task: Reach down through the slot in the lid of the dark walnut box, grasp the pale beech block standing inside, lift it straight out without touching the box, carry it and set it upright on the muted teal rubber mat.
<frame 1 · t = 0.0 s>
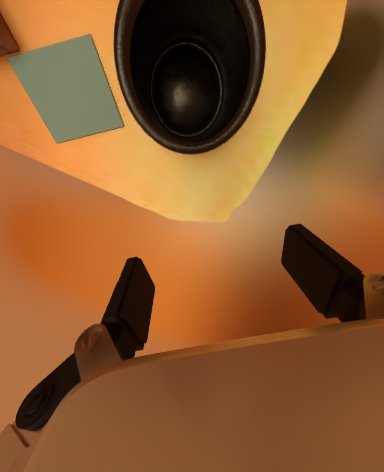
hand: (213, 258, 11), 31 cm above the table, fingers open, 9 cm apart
planter: (186, 96, 30), on the table
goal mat: (72, 96, 29), on the table
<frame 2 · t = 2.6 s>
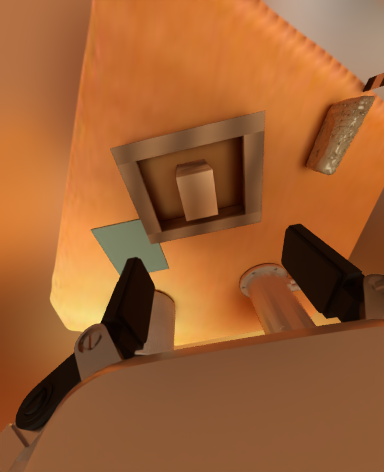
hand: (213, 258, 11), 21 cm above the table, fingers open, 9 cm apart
beech block: (193, 180, 29), resting in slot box
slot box: (193, 180, 28), on the table
planter: (148, 304, 47), on the table
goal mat: (133, 250, 36), on the table
cuneiform tablet: (328, 127, 26), on the table
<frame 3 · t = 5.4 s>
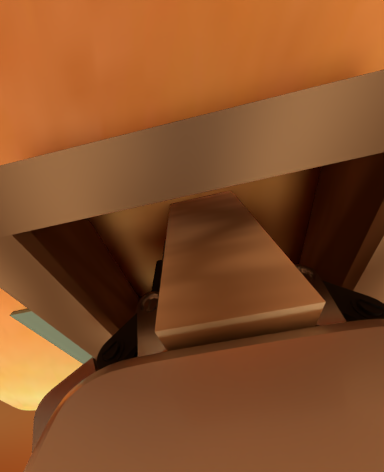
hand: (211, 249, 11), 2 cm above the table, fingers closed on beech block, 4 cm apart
beech block: (206, 231, 13), resting in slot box, touching gripper
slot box: (206, 231, 13), on the table
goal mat: (99, 333, 21), on the table
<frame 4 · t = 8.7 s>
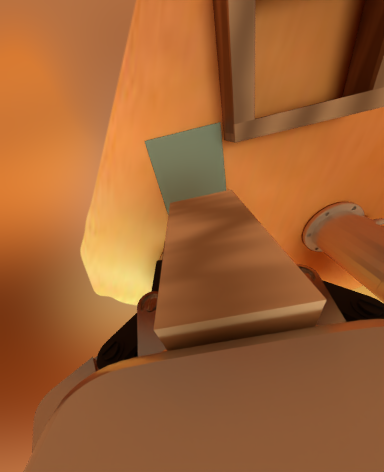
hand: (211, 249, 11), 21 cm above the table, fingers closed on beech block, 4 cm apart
beech block: (206, 230, 13), point 19 cm above the table, touching gripper
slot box: (289, 59, 22), on the table
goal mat: (191, 177, 29), on the table
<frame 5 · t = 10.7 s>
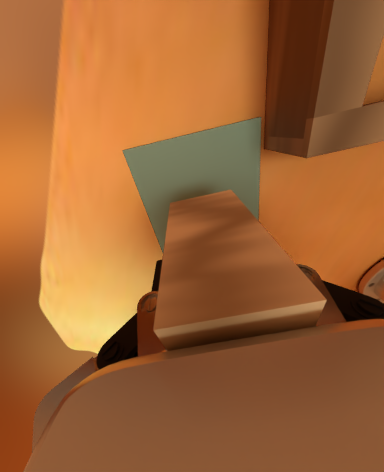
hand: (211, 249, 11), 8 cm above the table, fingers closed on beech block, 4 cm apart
beech block: (206, 230, 13), point 5 cm above the table, touching gripper
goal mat: (202, 207, 18), on the table
when the fingers open (4 cm above the table, at t = 12.2 s): beech block stays where it is, resting on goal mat.
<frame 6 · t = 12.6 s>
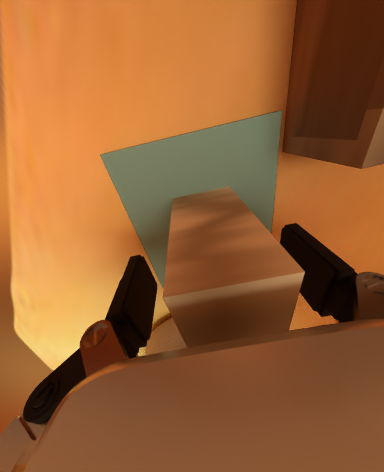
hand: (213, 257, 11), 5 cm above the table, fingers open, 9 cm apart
beech block: (206, 225, 14), resting on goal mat
planter: (199, 333, 26), on the table
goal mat: (204, 223, 15), on the table
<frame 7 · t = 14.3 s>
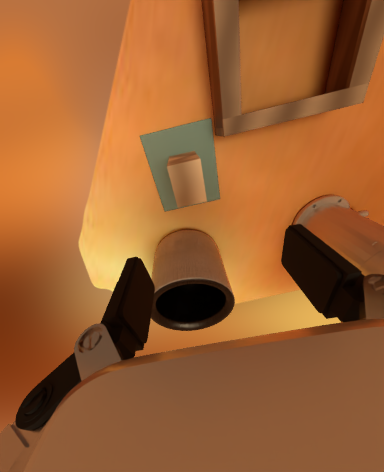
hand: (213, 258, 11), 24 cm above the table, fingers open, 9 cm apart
beech block: (185, 171, 30), resting on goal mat
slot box: (274, 58, 23), on the table
planter: (187, 253, 42), on the table
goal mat: (184, 170, 31), on the table
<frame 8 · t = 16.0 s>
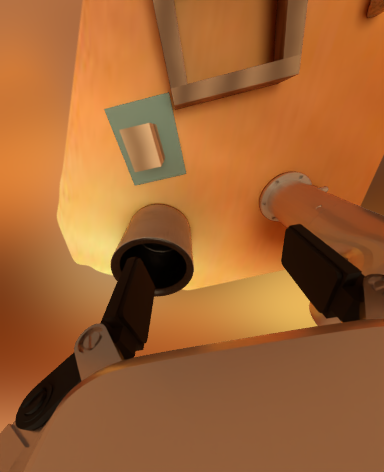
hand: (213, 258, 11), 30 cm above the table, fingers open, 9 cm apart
beech block: (150, 144, 33), resting on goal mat
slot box: (221, 35, 25), on the table
planter: (161, 229, 44), on the table
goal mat: (149, 144, 33), on the table
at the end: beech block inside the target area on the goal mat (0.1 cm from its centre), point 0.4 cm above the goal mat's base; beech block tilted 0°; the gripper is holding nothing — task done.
